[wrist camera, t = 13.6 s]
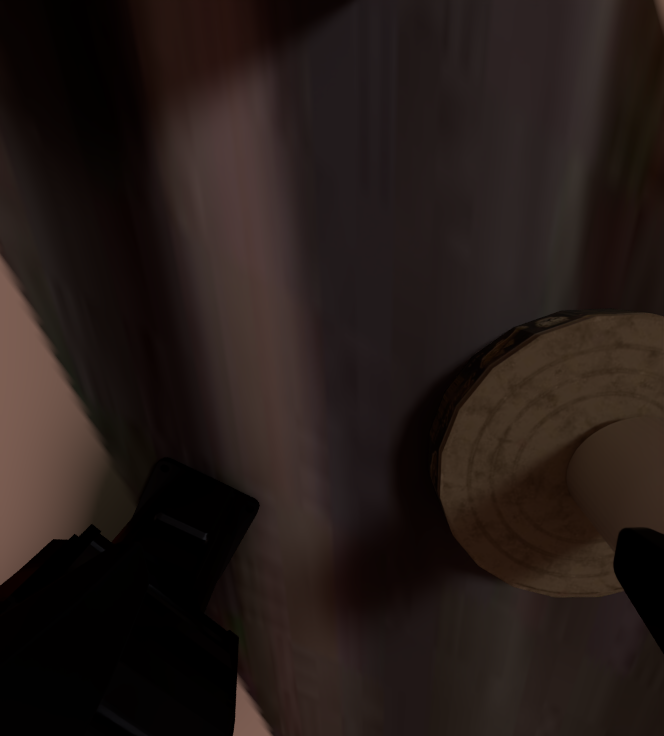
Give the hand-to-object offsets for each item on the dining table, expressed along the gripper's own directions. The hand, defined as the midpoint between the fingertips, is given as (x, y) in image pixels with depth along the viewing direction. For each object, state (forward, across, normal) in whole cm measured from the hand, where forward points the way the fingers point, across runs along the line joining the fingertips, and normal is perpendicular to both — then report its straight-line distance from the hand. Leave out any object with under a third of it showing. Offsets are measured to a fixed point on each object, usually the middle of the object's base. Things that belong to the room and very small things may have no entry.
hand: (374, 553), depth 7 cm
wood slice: (+14, -12, +5) cm, 19 cm away
